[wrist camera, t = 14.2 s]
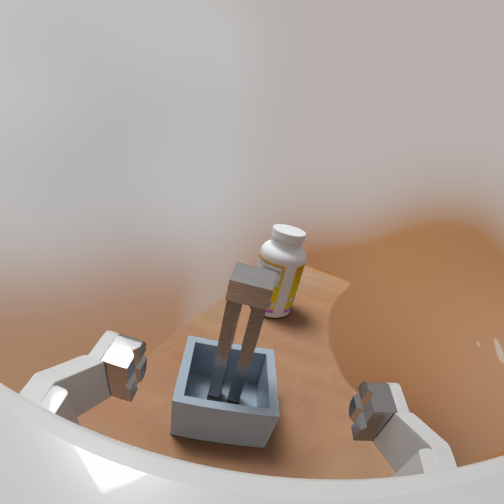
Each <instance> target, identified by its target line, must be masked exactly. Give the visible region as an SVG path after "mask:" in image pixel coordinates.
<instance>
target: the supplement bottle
mask: <svg viewBox="0 0 504 504" xmlns="http://www.w3.org/2000/svg"><path fill="white" fill-rule="evenodd" d="M305 237H306V233H305V232H304V231H302V230H301V229H299V228H296V227H294V226H290V225H285V224H277V225H274V226H273V230H272V240H269V241H267V242H265V243H264V244H263V245H262V247H261V251H260V255H259V260H258V264H257V267H258V268H262V269H266V270H270V271H274V272H276V275H275V282H274V289H273V293H272V297H271V300H270V304H269V307H268V310H266V312H265V316H266V317H271V318H280V317H284V316H286V315H287V314H288V313H289V312H290V310H291V307H292V304H293V301H294V298H295V295H296V292H297V288H298V285H299V282H300V278H301V275H302V272H303V269H304V265H305V262H306V253H305V251H304V250H303V249H302V248H301V245H302V244H303V243H304V241H305ZM251 307H252V306H251Z"/></svg>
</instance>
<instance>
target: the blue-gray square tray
mask: <svg viewBox="0 0 504 504" xmlns="http://www.w3.org/2000/svg"><path fill="white" fill-rule="evenodd" d="M218 342H219V341H215V340H209V339H204V338H199V337H194V336H188V339H187V343H186V347H185V351H184V355H183V359H182V363H181V367H180V371H179V375H178V379H177V383H176V387H175V391H174V395H173V400H172V413H171V432H170V434H171V435H176V436H181V437H186V438H191V439H197V440H203V441H209V442H216V443H223V444H230V445H239V446H248V447H259V448H264V447H265V445H266V444H267V442H268V440H269V438H270V436H271V434H272V432H273V430H274V428H275V426H276V424H277V422H278V419H279V417H280V412H279V401H278V390H277V380H276V369H275V359H274V350H270V349H263V348H256V347H255V350H254V354H253V357H252V360H251V364H250V367H249V370H248V374H247V377H246V380H245V383H244V387H243V390H242V393H241V397H240V401H239V405H238V404H231V403H226V402H227V398H228V394H229V391H230V387H231V383H232V379H233V377H234V374H235V370H236V366H237V362H238V359H239V355H240V351H241V347H242V345H238V344H233V345H232V349H231V354H230V358H229V362H228V366H227V370H226V375H225V381H224V385H223V389H222V393H221V397H220V400H219V402H218V401H212V400H206V399H207V395H208V392H209V387H210V382H211V377H212V372H213V367H214V362H215V357H216V352H217V347H218Z"/></svg>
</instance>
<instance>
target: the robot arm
mask: <svg viewBox="0 0 504 504" xmlns="http://www.w3.org/2000/svg"><path fill="white" fill-rule="evenodd" d="M145 351H146V343H145V342H144V341H141V340H138V339H135V338H132V337H128V336H125V335H122V334H118V333H116V332H113V331H109V330H108V331H106V332H105V333H104V335H103V336H102V337H101V339H100V340H99V341H98V343H97V344H96V345H95V347H94V348H93V349H92V351H91V352H90V353H89V355H88V356H87V355H83V356H80V357H77V358H75V359H73V360H70V361H67V362H65V363H62V364H59V365H57V366H54V367H51V368H49V369H46V370H43V371H41V372H38V373H35V374H34V376H33V377H32V378H31V379H30V381H29V382H28V383H27V384H26V386H25V387H24V388H23V389H22V391H21V392H20V393H19V394H18V393H16V392H14V391H13V390H11V389H9V388H8V387H6V386H5V385H3V384H1V383H0V504H504V455H503V456H500V457H496V458H493V459H489V460H486V461H482V462H478V463H474V464H470V465H466V466H462V467H457V466H456V463H455V460H454V457H453V454H452V451H451V449H450V446H449V444H447V443H446V442H445V441H444V440H443V439H442V438H441V437H439V436H438V435H437V434H436V433H435V432H434V431H433V430H432V429H430V428H429V427H428V426H427V425H426V424H424V422H422V421H421V420H420V419H419V418H418V417H417V416H416V415H414V414H413V413H410V412H409V410H408V407H407V404H406V401H405V398H404V395H403V393H402V390H401V387H400V385H399V384H398V383H379V382H365V381H364V382H362V383H361V384H360V386H359V388H358V389H359V393H358V394H356V395H354V396H353V398H352V400H351V403H350V407H349V416H350V419H351V420H352V421H353V422H354V424H353V425H352V427H351V428H352V434H353V440H358V441H373V443H374V444H375V446H376V447H377V448H378V449H379V451H380V452H381V453H382V455H383V456H384V457H385V458H386V460H387V461H388V462H389V464H390V465H391V466H392V467H393V469H394V470H395V471H396V472H397V473H396V474H394V475H393V476H392V477H387V478H372V479H303V478H288V477H277V476H267V475H259V474H251V473H244V472H238V471H231V470H226V469H220V468H215V467H210V466H205V465H201V464H196V463H192V462H188V461H183V460H179V459H176V458H172V457H168V456H164V455H161V454H157V453H154V452H151V451H147V450H144V449H141V448H138V447H135V446H132V445H129V444H126V443H123V442H121V441H118V440H115V439H112V438H110V437H107V436H105V435H102V434H99V433H97V432H94V431H92V430H90V429H87V428H85V427H83V426H80V424H79V422H78V419H77V417H78V416H80V415H81V414H83V413H85V412H86V411H88V410H90V409H91V408H93V407H94V406H96V405H98V404H99V403H101V402H103V401H104V400H106V399H107V398H109V397H110V395H111V396H114V397H117V398H120V399H123V400H126V401H130V402H131V401H132V399H133V397H134V395H135V393H136V391H137V383H139V382H141V381H142V379H143V377H144V374H145V370H146V364H147V360H146V357H145V356H144V353H145Z"/></svg>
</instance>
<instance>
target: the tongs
mask: <svg viewBox="0 0 504 504" xmlns="http://www.w3.org/2000/svg"><path fill="white" fill-rule="evenodd" d="M275 275H276V272H274V271H270V270H266V269H262V268H258V267H254V266H250V265H246V264H242V263H238V262H237V264H236V266H235V268H234V271H233V273H232V275H231V278H230V280H229V285H228V290H227V295H226V300H227V303H226V307H225V312H224V317H223V322H222V327H221V332H220V337H219V342H218V347H217V352H216V357H215V362H214V367H213V372H212V377H211V382H210V387H209V392H208V395H207V399H206V400H212V401H218V402H219V400H220V397H221V393H222V389H223V385H224V381H225V375H226V370H227V366H228V362H229V358H230V354H231V349H232V345H233V341H234V337H235V333H236V328H237V324H238V320H239V316H240V311H241V307H242V304H244V305H248V306H252V308H251V312H250V316H249V320H248V324H247V328H246V332H245V336H244V339H243V343H242V347H241V351H240V355H239V359H238V362H237V366H236V370H235V374H234V377H233V379H232V383H231V387H230V391H229V394H228V398H227V402H226V403H231V404H238V405H239V401H240V397H241V393H242V390H243V387H244V383H245V380H246V377H247V374H248V370H249V367H250V364H251V360H252V357H253V354H254V350H255V347H256V343H257V340H258V337H259V333H260V330H261V326H262V323H263V319H264V316H265V312H266V310H268V307H269V304H270V300H271V297H272V293H273V289H274V282H275Z"/></svg>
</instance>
